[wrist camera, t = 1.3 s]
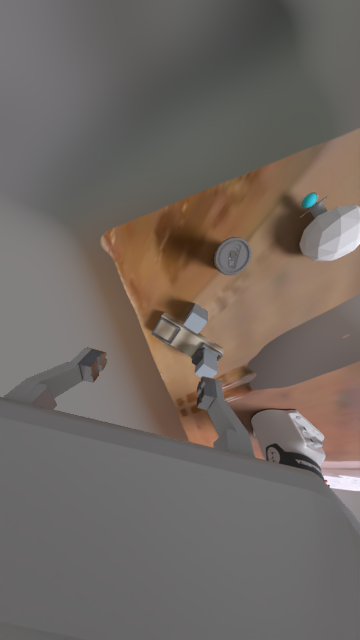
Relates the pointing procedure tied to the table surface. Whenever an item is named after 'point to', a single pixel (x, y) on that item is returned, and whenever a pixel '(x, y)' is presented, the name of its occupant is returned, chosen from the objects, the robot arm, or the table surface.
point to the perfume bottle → (330, 230)
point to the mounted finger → (205, 363)
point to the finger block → (196, 319)
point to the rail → (183, 337)
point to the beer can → (232, 256)
